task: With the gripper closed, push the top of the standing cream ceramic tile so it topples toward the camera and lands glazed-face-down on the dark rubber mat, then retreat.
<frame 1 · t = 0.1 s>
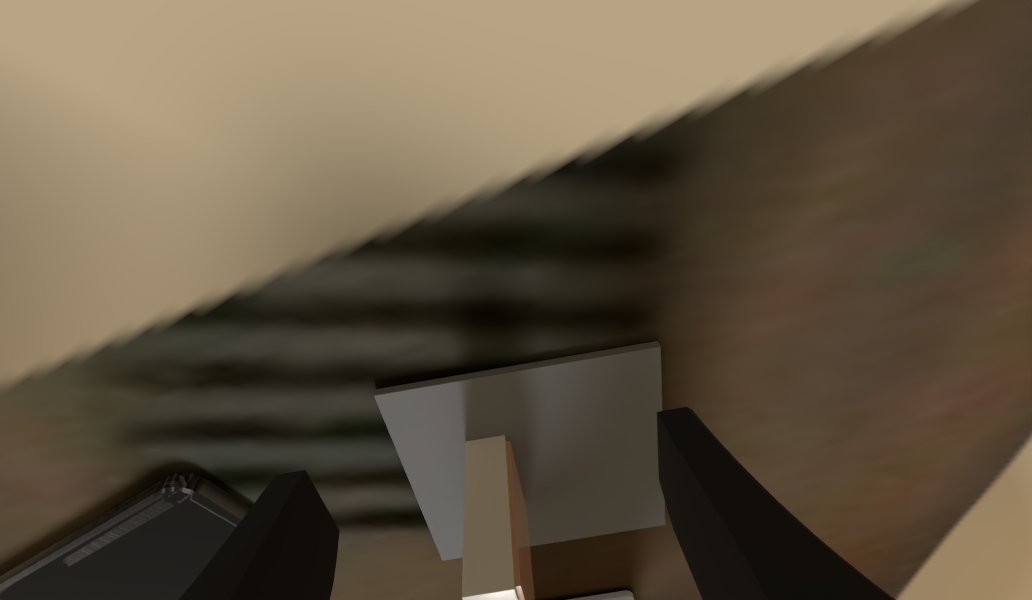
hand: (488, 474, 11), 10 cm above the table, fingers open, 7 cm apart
mat: (536, 461, 26), on the table
phone: (152, 555, 28), on the table
tile: (495, 474, 25), resting on mat
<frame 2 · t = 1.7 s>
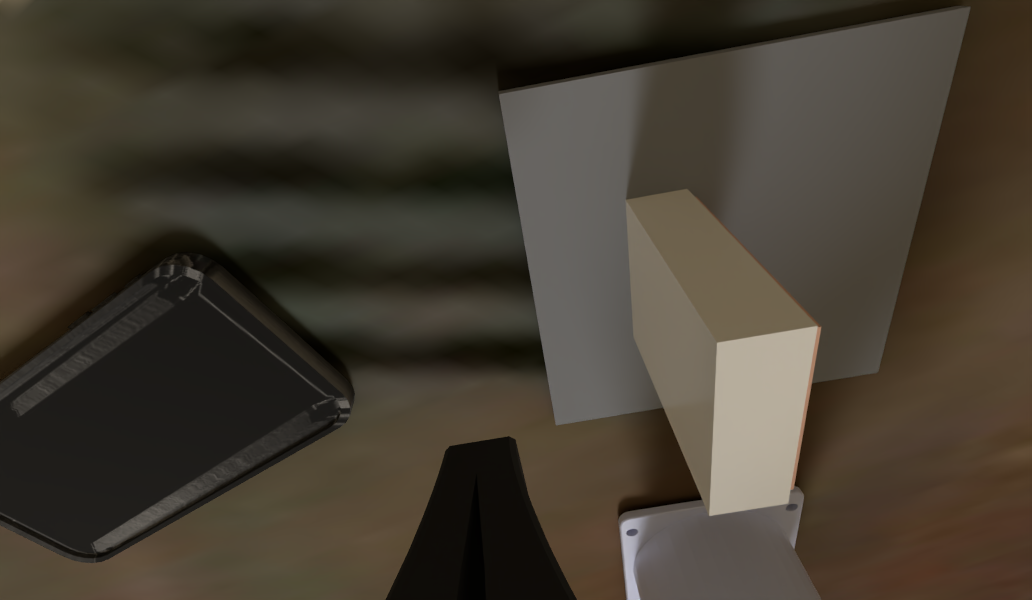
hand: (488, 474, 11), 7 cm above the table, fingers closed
mat: (716, 252, 17), on the table
phone: (143, 414, 20), on the table
tile: (658, 268, 17), resting on mat
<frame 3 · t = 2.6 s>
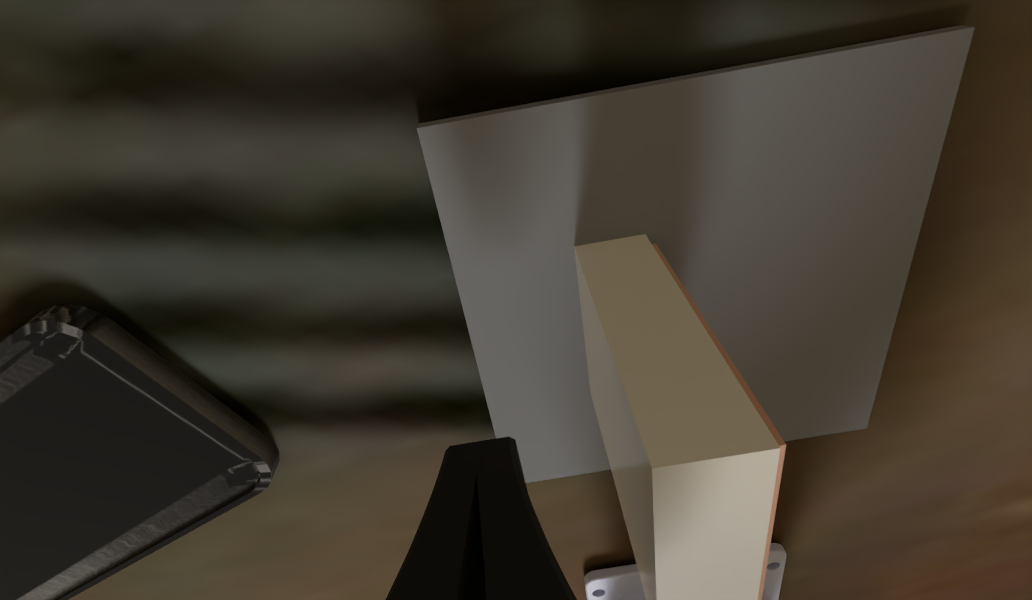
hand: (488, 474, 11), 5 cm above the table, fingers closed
mat: (683, 301, 15), on the table
phone: (44, 474, 18), on the table
tile: (615, 321, 15), resting on mat
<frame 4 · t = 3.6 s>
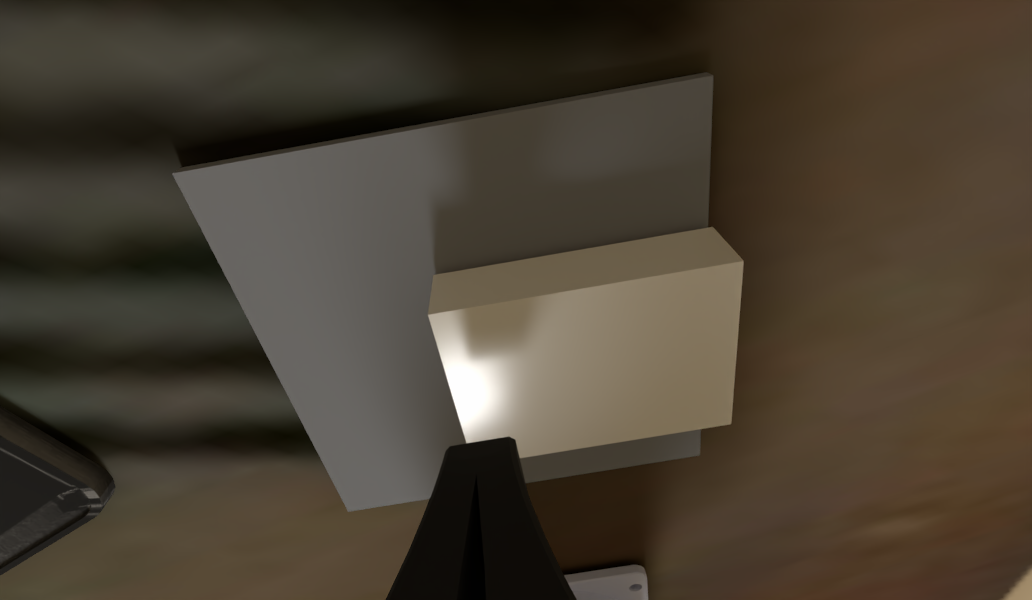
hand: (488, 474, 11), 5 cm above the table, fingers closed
mat: (489, 334, 15), on the table
tile: (454, 374, 14), point 1 cm above the table, tilted 90°, touching mat
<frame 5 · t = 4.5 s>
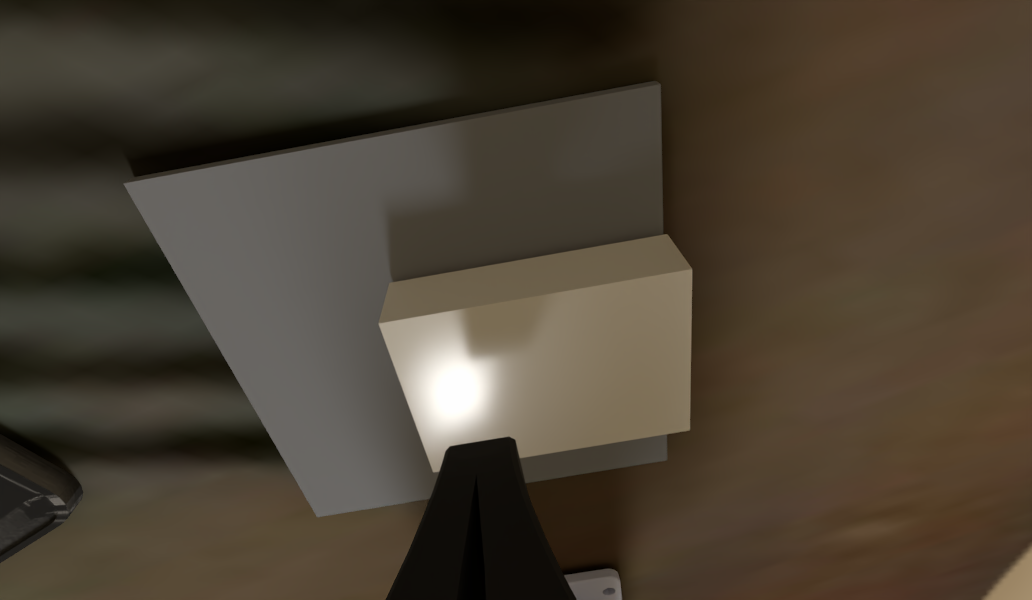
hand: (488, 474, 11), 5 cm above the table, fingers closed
mat: (450, 341, 15), on the table
tile: (412, 381, 14), point 1 cm above the table, tilted 90°, touching mat
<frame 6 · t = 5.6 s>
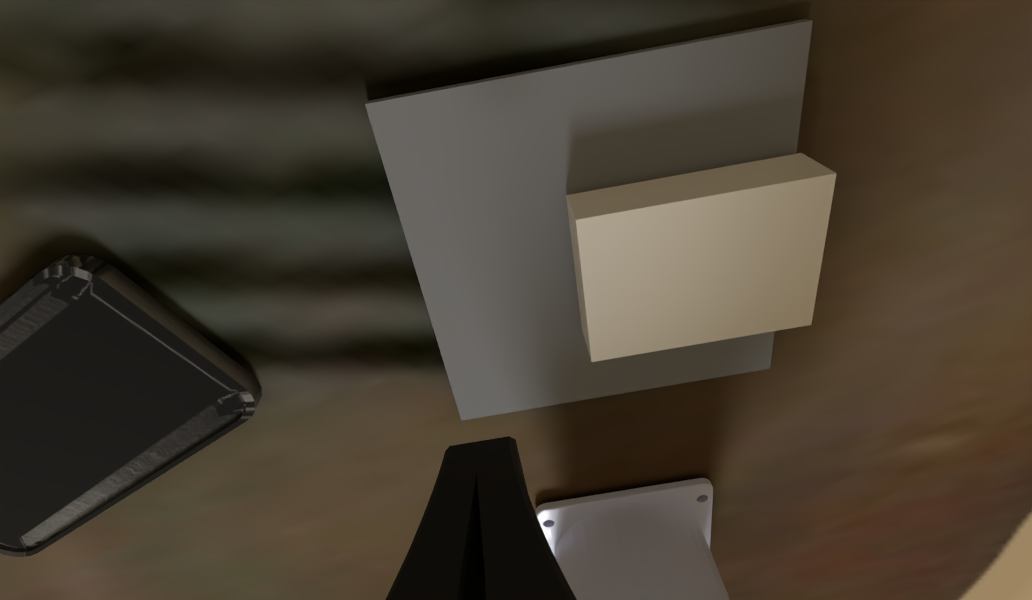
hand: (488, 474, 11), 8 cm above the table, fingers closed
mat: (600, 253, 18), on the table
phone: (60, 411, 21), on the table
tile: (579, 281, 17), point 1 cm above the table, tilted 90°, touching mat
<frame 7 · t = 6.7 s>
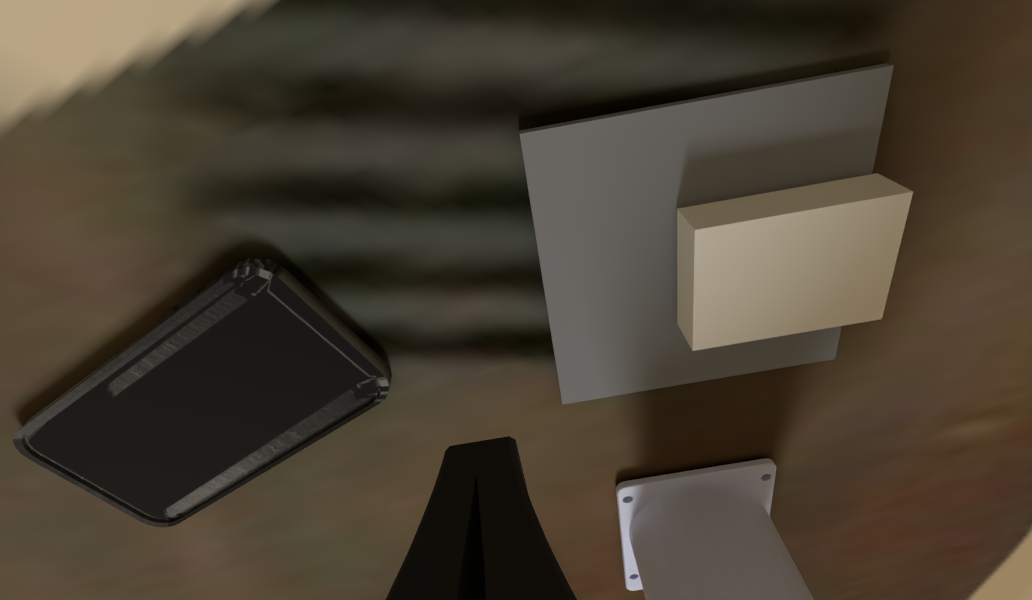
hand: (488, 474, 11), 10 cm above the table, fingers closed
mat: (697, 258, 21), on the table
phone: (212, 395, 23), on the table
tile: (685, 281, 19), point 1 cm above the table, tilted 90°, touching mat
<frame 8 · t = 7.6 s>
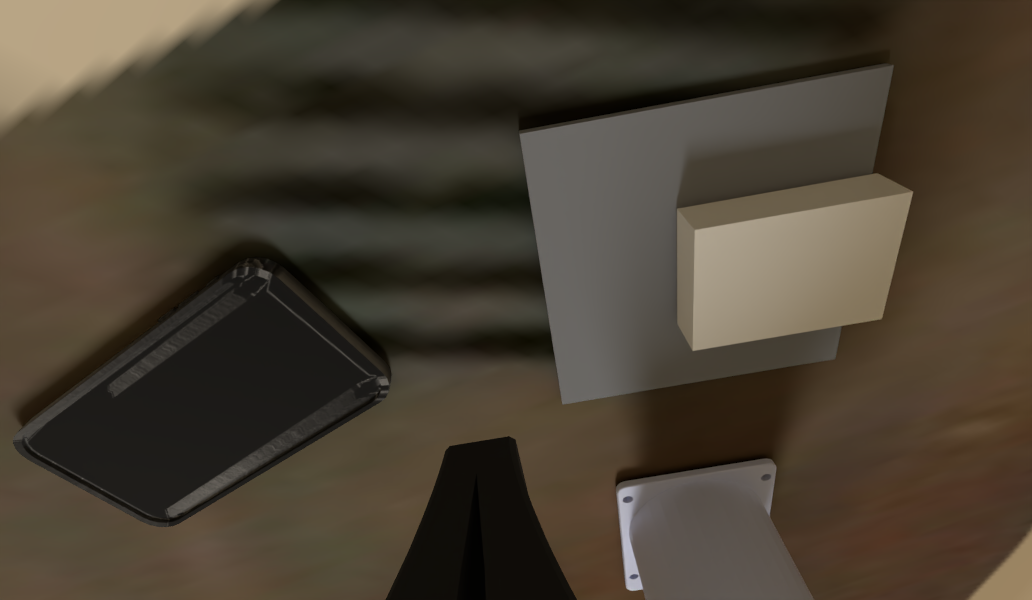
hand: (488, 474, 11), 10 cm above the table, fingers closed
mat: (697, 258, 21), on the table
phone: (212, 395, 23), on the table
tile: (685, 281, 19), point 1 cm above the table, tilted 90°, touching mat
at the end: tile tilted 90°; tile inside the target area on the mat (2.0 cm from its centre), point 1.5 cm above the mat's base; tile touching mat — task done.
